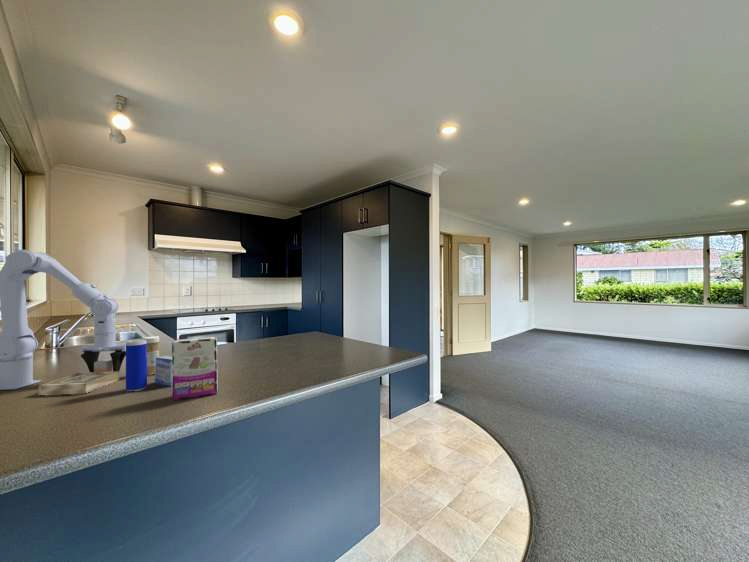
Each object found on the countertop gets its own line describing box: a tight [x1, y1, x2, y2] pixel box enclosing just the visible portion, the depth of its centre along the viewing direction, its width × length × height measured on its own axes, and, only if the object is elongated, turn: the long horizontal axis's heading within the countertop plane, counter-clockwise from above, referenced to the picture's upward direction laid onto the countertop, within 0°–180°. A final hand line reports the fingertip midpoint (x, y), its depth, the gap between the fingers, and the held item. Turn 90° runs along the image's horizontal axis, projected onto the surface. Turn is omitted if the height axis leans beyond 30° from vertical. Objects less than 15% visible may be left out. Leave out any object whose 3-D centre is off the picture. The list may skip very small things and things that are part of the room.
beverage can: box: [125, 339, 148, 393], centre depth 94 cm, size 5×5×15 cm
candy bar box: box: [171, 335, 219, 401], centre depth 89 cm, size 11×5×16 cm, turn 115°
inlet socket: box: [59, 375, 103, 384], centre depth 96 cm, size 7×7×2 cm
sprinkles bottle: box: [143, 335, 160, 376], centre depth 110 cm, size 5×5×14 cm
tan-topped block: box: [94, 358, 113, 372], centre depth 106 cm, size 4×4×6 cm
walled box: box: [37, 371, 120, 397], centre depth 96 cm, size 13×13×3 cm
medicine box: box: [154, 354, 173, 387], centre depth 99 cm, size 8×4×9 cm, turn 68°
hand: (104, 372), depth 106 cm, fingers open, 7 cm apart
